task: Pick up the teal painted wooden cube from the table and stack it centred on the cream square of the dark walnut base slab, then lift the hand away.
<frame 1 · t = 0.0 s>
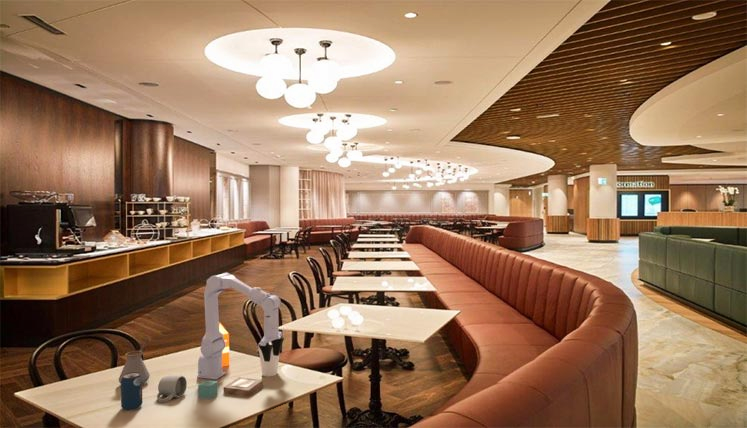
hand: (271, 358, 200), 10 cm above the table, tool pointing down, fingers open, 7 cm apart
foam cup: (269, 374, 210), on the table
soda can: (132, 408, 176), on the table
walnut base: (243, 391, 192), on the table
teal cube: (208, 396, 187), on the table
coffee pot: (139, 380, 203), on the table
ceramic mug: (170, 397, 186), on the table
orange juice: (217, 364, 222), on the table
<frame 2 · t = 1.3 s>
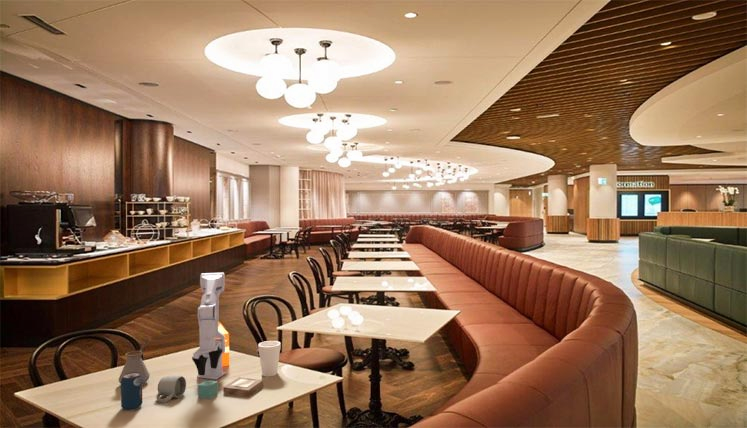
hand: (207, 371, 186), 9 cm above the table, tool pointing down, fingers open, 7 cm apart
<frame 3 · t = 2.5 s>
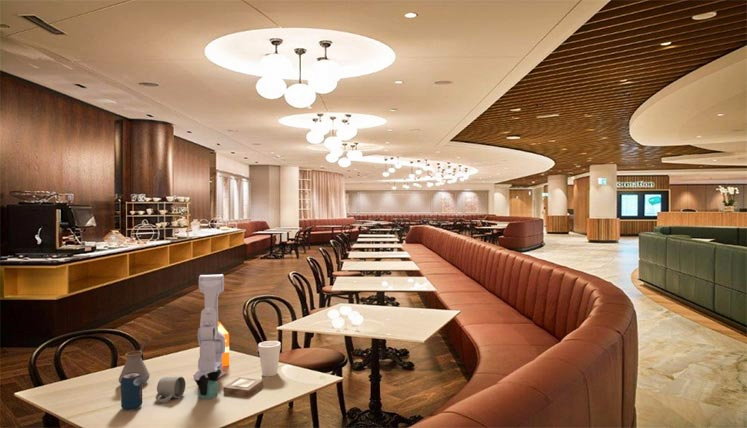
hand: (208, 392, 187), 1 cm above the table, tool pointing down, fingers closed on teal cube, 5 cm apart
teal cube: (208, 395, 187), on the table, touching gripper
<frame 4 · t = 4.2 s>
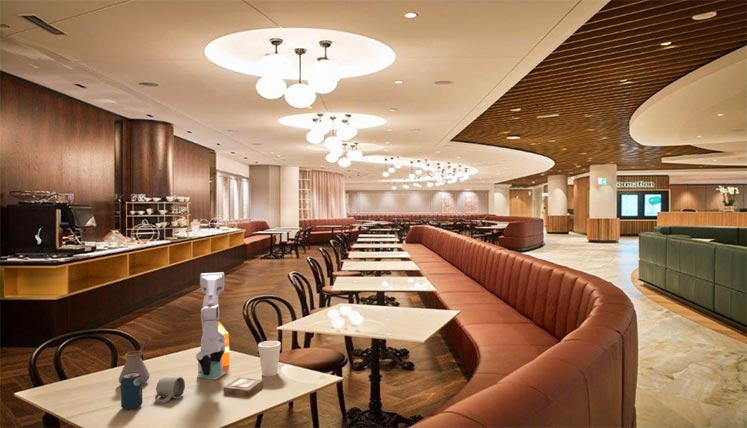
hand: (210, 372, 187), 9 cm above the table, tool pointing down, fingers closed on teal cube, 5 cm apart
teal cube: (211, 376, 187), point 7 cm above the table, touching gripper
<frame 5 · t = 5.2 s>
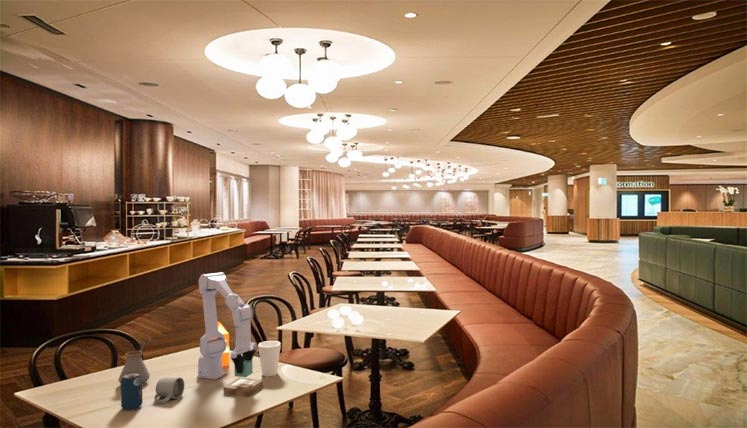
hand: (243, 370, 192), 8 cm above the table, tool pointing down, fingers closed on teal cube, 5 cm apart
teal cube: (243, 374, 192), point 6 cm above the table, touching gripper
when the fingers open (6 cm above the table, at t = 6.0 s): teal cube drops 2 cm, point 3 cm above the table.
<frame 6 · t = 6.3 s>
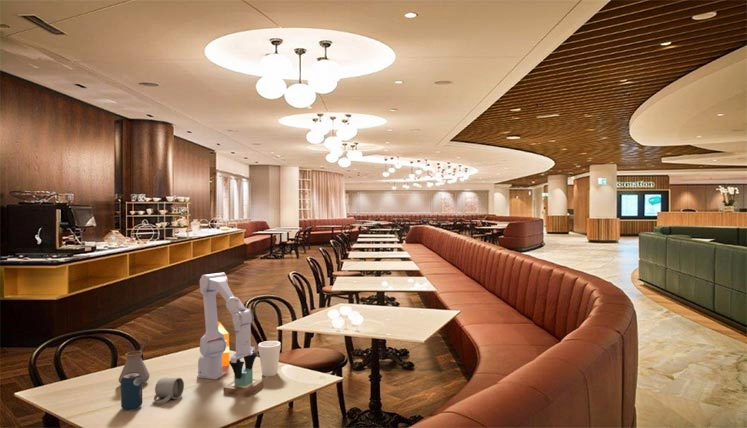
hand: (243, 375, 192), 6 cm above the table, tool pointing down, fingers open, 7 cm apart
teal cube: (243, 383, 192), point 3 cm above the table
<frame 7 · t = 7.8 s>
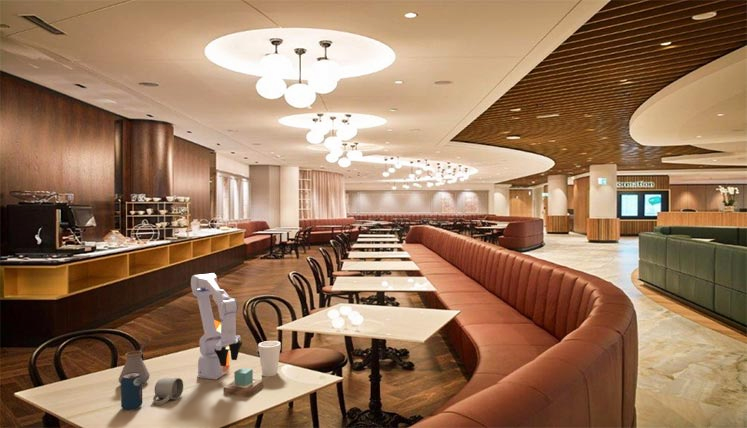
hand: (228, 362, 196), 9 cm above the table, tool pointing down, fingers open, 7 cm apart
walnut base: (243, 391, 192), on the table, touching teal cube
teal cube: (243, 383, 192), point 3 cm above the table, touching walnut base
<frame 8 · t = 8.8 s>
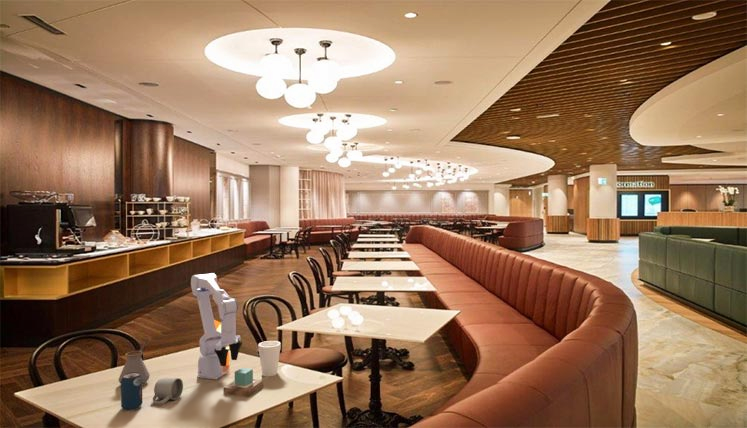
hand: (228, 362, 196), 9 cm above the table, tool pointing down, fingers open, 7 cm apart
at the end: teal cube 0.1 cm off-centre on the walnut base, point 3.2 cm above the walnut base's base; teal cube tilted 1°; the gripper is holding nothing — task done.
